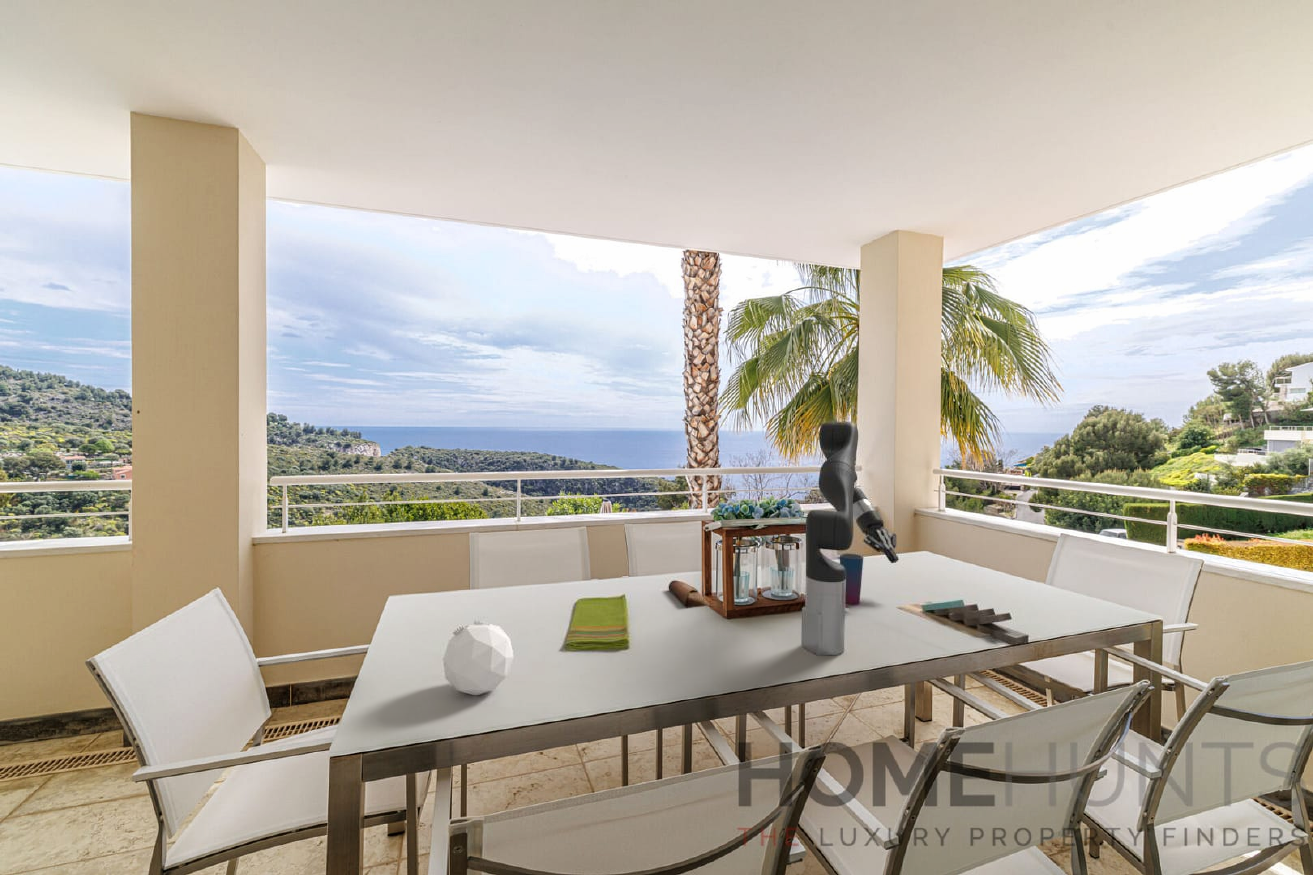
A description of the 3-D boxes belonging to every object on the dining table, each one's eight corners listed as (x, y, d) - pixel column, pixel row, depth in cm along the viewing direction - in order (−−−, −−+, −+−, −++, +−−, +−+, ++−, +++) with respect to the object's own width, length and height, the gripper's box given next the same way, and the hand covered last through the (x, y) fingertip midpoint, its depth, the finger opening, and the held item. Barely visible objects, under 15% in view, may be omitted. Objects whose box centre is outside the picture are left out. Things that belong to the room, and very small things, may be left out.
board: (976, 641, 139) (976, 637, 139) (896, 610, 162) (896, 607, 162) (1011, 633, 145) (1011, 629, 145) (929, 604, 168) (929, 601, 168)
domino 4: (965, 625, 147) (999, 621, 138) (963, 619, 147) (997, 615, 139) (977, 623, 149) (1012, 619, 141) (975, 616, 149) (1009, 612, 141)
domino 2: (935, 615, 155) (966, 612, 146) (933, 609, 155) (964, 606, 147) (947, 613, 157) (978, 610, 149) (945, 607, 158) (976, 604, 149)
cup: (858, 610, 161) (859, 559, 161) (835, 605, 165) (836, 556, 165) (865, 604, 167) (866, 555, 166) (842, 600, 171) (843, 552, 170)
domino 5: (976, 630, 144) (1015, 644, 135) (977, 624, 144) (1015, 637, 135) (989, 627, 146) (1028, 641, 137) (989, 621, 146) (1028, 634, 137)
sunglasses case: (712, 605, 164) (701, 587, 163) (693, 619, 162) (682, 600, 161) (692, 588, 181) (682, 571, 180) (674, 600, 179) (665, 583, 178)
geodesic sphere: (432, 688, 98) (480, 618, 103) (415, 661, 109) (458, 599, 114) (495, 717, 105) (536, 651, 110) (472, 689, 116) (511, 630, 121)
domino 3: (950, 620, 151) (983, 617, 142) (948, 614, 151) (980, 610, 143) (962, 618, 153) (995, 614, 144) (960, 612, 153) (993, 608, 145)
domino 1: (922, 610, 159) (952, 607, 150) (921, 605, 159) (950, 601, 151) (934, 608, 161) (964, 605, 152) (933, 602, 161) (962, 599, 153)
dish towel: (564, 652, 130) (564, 639, 130) (575, 603, 165) (576, 593, 165) (629, 651, 131) (630, 638, 131) (627, 603, 166) (627, 592, 166)
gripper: (857, 510, 176) (887, 556, 165) (887, 508, 182) (917, 553, 171) (844, 524, 181) (872, 569, 170) (874, 522, 187) (903, 566, 176)
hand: (895, 561), depth 170 cm, fingers closed
